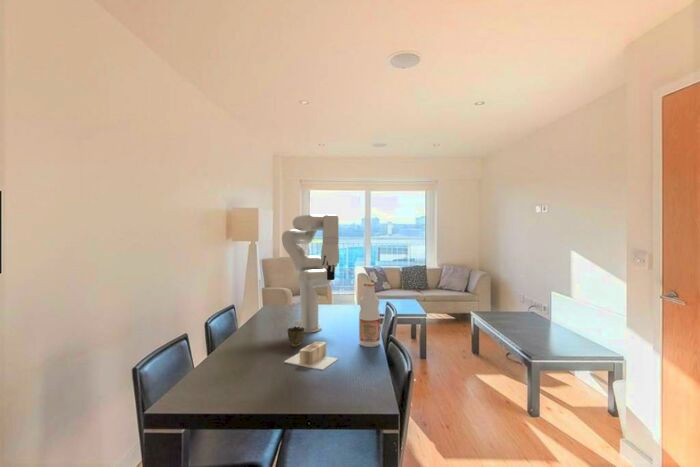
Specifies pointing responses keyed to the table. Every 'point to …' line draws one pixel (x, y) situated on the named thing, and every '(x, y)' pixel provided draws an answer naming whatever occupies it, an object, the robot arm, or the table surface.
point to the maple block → (312, 352)
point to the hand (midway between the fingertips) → (330, 279)
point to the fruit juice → (369, 317)
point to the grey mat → (319, 364)
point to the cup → (295, 335)
